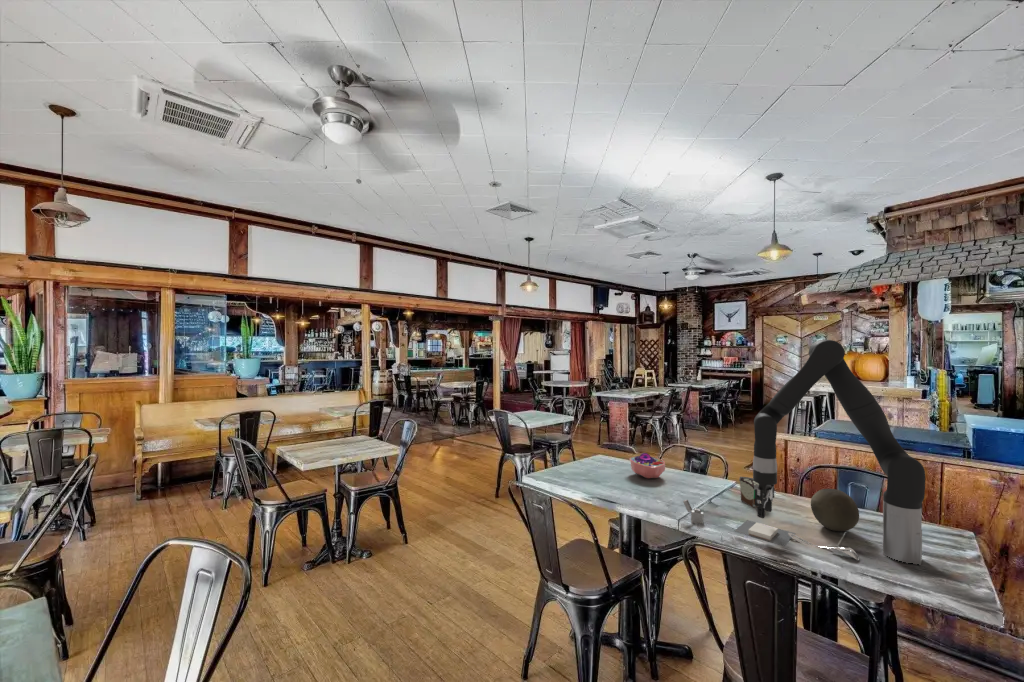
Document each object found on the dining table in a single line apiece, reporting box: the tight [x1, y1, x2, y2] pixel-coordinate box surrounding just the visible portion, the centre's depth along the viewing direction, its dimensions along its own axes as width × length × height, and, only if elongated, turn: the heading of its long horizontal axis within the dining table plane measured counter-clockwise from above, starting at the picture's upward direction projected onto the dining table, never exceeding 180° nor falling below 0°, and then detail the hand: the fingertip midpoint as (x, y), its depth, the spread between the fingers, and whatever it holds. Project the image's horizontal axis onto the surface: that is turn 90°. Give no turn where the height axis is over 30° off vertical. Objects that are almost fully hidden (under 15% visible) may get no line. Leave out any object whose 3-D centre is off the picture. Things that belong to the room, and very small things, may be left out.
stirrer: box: [788, 532, 860, 561], centre depth 145 cm, size 20×4×5 cm
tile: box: [748, 522, 779, 540], centre depth 155 cm, size 7×2×9 cm
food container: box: [738, 476, 761, 508], centre depth 185 cm, size 12×6×10 cm, turn 0°
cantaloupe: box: [810, 488, 860, 532], centre depth 159 cm, size 14×14×15 cm
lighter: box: [682, 499, 705, 525], centre depth 166 cm, size 7×2×8 cm, turn 53°
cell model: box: [629, 452, 666, 479], centre depth 221 cm, size 17×20×11 cm
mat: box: [734, 519, 796, 547], centre depth 157 cm, size 16×14×1 cm
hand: (764, 514), depth 157 cm, fingers open, 7 cm apart
